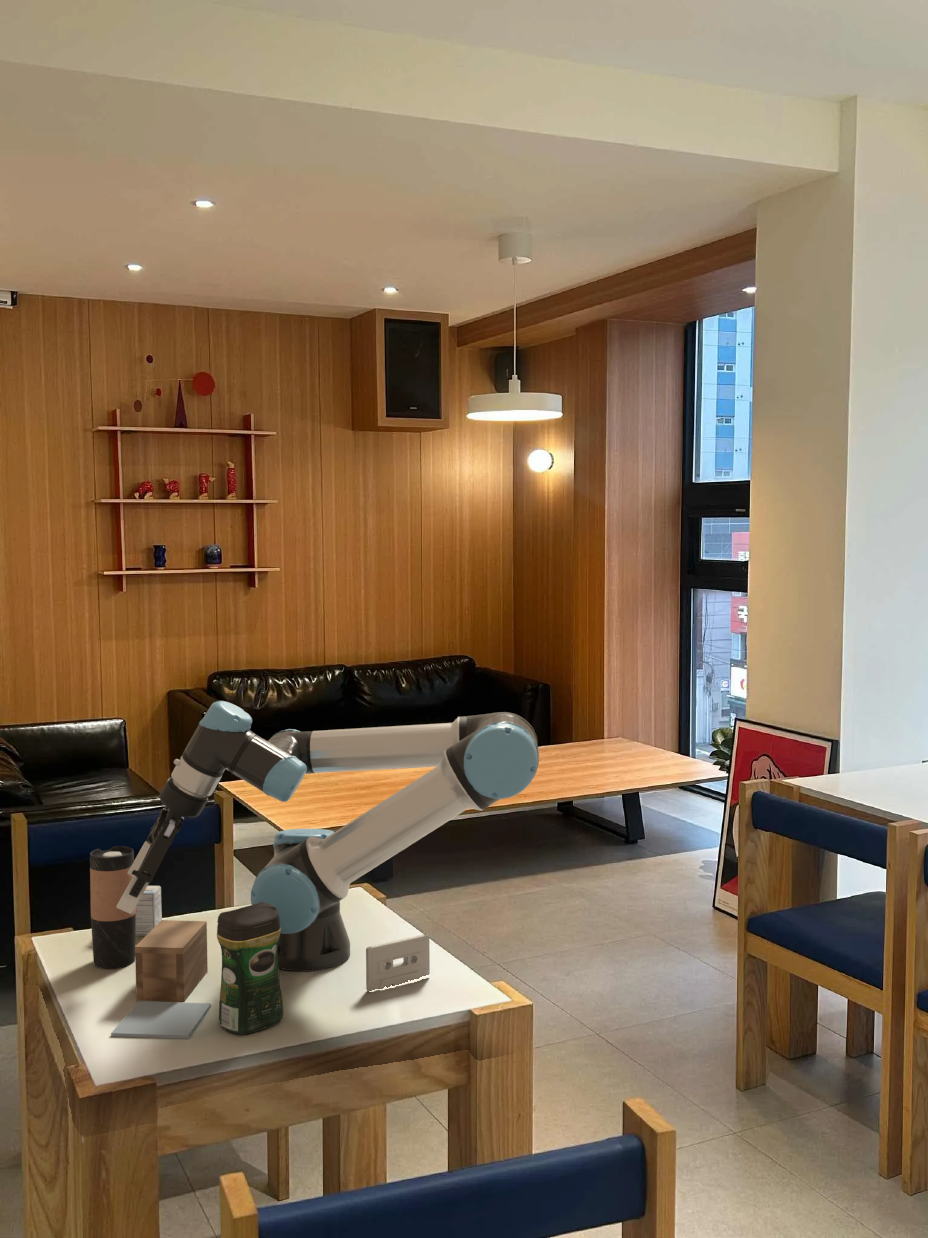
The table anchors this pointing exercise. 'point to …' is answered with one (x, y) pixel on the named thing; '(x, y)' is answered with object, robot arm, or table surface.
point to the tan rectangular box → (171, 960)
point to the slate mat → (162, 1020)
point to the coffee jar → (249, 968)
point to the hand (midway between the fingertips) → (129, 892)
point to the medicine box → (148, 910)
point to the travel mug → (111, 908)
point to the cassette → (409, 969)
